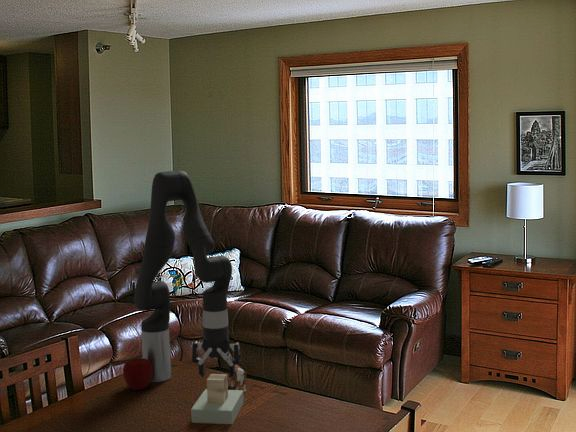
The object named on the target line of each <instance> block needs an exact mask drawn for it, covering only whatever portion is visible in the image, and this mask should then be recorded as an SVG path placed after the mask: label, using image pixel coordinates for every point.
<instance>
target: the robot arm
mask: <svg viewBox="0 0 576 432" xmlns="http://www.w3.org/2000/svg"><path fill="white" fill-rule="evenodd" d="M150 195H151V197H150V207H149V210H150V211H149V218H148V224H147V229H146V235H145V239H144V240H145V241H144V247H143V255H142V261H141V267H140V271H139V274H138V278H137V280H136V285H135V290H134V298H133V299H134V304H135V308H136V310H138V311H140V312H147V311H153V312H152V313H151V314H150V315H149V316H147V317H145V318H144V319H143V320H141V322H140V330H141V331H140V332H141V347H142V348H141V350H142V352H141V353H142V358H145V359H147V360H149V361H150V362H151V364H152V367H153V374H152V378H151V381H150V383H160V382H166V381H168V380H170V379H171V378H172V369H171V367H172V366H171V365H172V364H171V363H172V362H171V346H170V344H171V342H170V328H169V327H170V320H171V319H170V317H171V316H170V314H171V313H170V309H171V308H170V307H171V301H170V300H171V297H170V296H171V295H170V289H169V286H168V285H167V283H166V281H164V280H158V281H155V279H156V277H157V275H158V274H159V272H160V271H161V270H162V269H163V268H164V267H165V266H166V264H167V263H168V262H169V261H170V259H171V258H172V256H173V253H174V248H175V242H176V233H175V231H174V229H173V227H172V225H171V222H170V221H169V220H168V217H167V214H166V212H167V211H166V209H167V204H168V202H173V201H175V202H176V201H182V203H183V205H184V207H185V216H184V217H185V218H184V221H183V235H184V238H185V240H186V242H187V244H188V246H189V248H190V250H191V252H192V257H193V264H194V271H195V275H196V277H197V278H198V280H199V281H201V282H203V283H204V284H205V283H212V282H213V284H212V285H211V286H210V287H208V288H206V289H205V290H204V291H203V292H202V317H201V318H202V320H201V323H202V324H201V325H202V342H199V341H198V340H195V341H194V342H193V343H192V354H191V362H192V363H193V364H194V363H195V364H197V365H198V374H199V376H200V377H201V378H204V377H205V375H206V362H205V360H206V359H207V358H208V357H209V358H211V359H214V358H217V359H221V358H222V359H223V360H224V361H225V362H226V363H227V364H228V377H229V378H228V379H230V378H232V377H233V376H234V374H235V365H239V364H240V363H241V361H242V357H241V346H240V342H239V341H237V342H235V343H230V340H229V339H230V338H229V337H230V336H229V334H230V333H229V315H228V314H229V313H228V298H227V297H228V292H229V287H230V282H231V280H232V275H233V266H232V262H231V260H230V259H229V257H227V256H225V255H218V256H211V257H208V255H210V254H212V253H213V252H214V251H215V248H216V244H215V241H214V239H213V238H212V235H211V233H210V231H209V229H208V227H207V225H206V223H205V221H204V217H203V215H202V212H201V209H200V205H199V202H198V197H197V195H196V191H195V189H194V186H193V183H192V180H191V178H190V176H189V174H188V173H187V172H186V171H184V170H168V171H160V172H157V173H155V175H154V177H153V179H152V183H151V193H150ZM201 348H202V349H203V351H204V354H203V355H202V356H201V357H199V350H200V349H201ZM230 348H231V350H232V351H233V354H234V358H233V357H232V356H233V355H232V354H231V353H230V352H229V350H230Z"/></svg>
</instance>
